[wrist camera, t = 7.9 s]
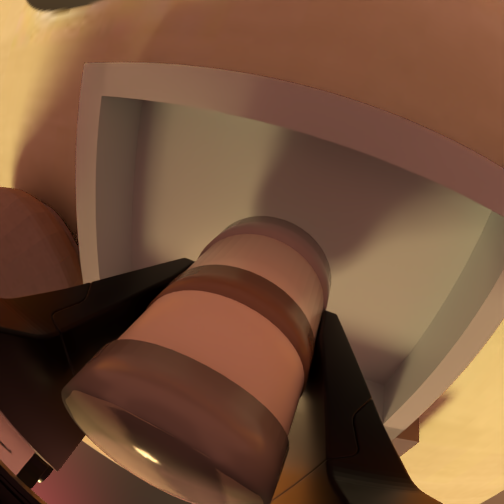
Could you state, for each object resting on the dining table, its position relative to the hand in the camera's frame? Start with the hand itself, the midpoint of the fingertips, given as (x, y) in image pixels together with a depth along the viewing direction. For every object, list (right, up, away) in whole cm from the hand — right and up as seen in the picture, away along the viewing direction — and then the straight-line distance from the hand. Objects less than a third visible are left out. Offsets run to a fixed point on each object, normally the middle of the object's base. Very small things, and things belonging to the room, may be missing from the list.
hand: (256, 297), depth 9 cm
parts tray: (+1, +2, +3) cm, 4 cm away
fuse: (0, +1, +1) cm, 1 cm away
